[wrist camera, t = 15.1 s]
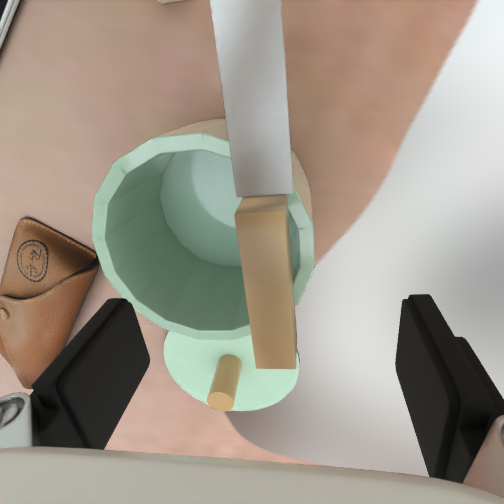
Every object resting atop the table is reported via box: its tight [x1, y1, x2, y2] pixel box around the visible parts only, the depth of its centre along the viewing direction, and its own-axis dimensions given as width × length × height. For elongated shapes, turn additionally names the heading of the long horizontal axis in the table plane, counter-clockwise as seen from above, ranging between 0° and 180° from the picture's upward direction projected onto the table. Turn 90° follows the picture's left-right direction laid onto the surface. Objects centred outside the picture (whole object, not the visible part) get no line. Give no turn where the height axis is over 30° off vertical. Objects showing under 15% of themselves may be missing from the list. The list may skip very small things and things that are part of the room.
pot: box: [92, 118, 315, 340], centre depth 23 cm, size 13×13×9 cm
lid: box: [163, 331, 300, 411], centre depth 31 cm, size 14×14×6 cm
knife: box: [210, 0, 297, 369], centre depth 15 cm, size 3×19×3 cm, turn 7°
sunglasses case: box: [0, 218, 99, 389], centre depth 33 cm, size 18×7×7 cm
